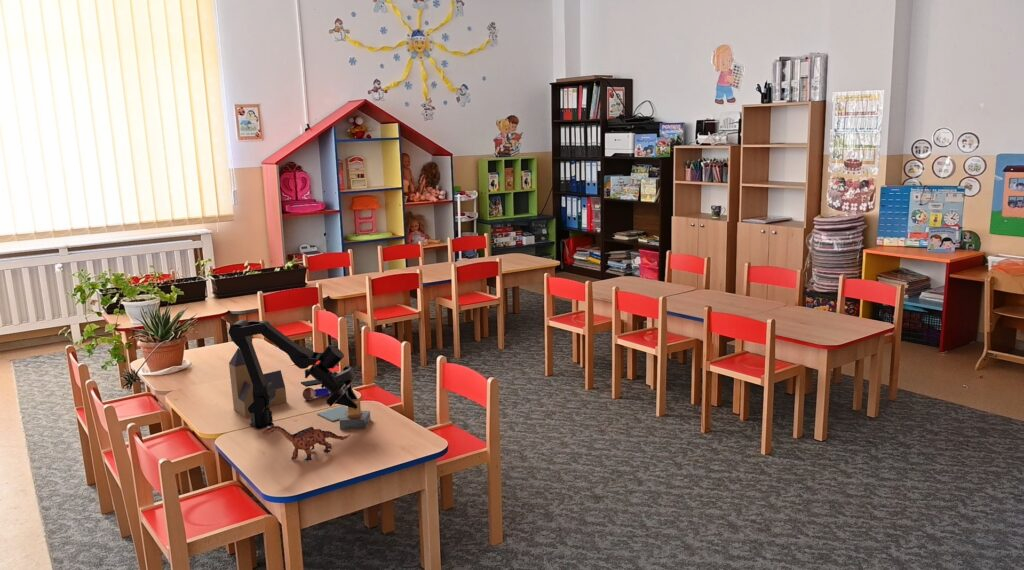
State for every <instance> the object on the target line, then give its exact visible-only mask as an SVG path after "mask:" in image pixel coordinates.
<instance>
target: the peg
mask: <svg viewBox="0 0 1024 570" xmlns="http://www.w3.org/2000/svg"><path fill="white" fill-rule="evenodd" d="M352 400H353V402H354V403H355V404H356V405H357V406H358V407H357V408H356V409H354V408H351V407H347V408H348V414H349V418H360V416H361V411H362V410H361V409H362V407H361V398H358V399H352Z"/></svg>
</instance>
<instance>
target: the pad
mask: <svg viewBox="0 0 1024 570" xmlns="http://www.w3.org/2000/svg"><path fill="white" fill-rule="evenodd" d="M345 411H348V407H347V406H344V405H340V406H336V407H333V408H331V409H327V410H324V411H321V412H317V413H316V415H317V416H320V417H321V418H323V419H326V420H327V421H330V422H332V423H334V422H337V421H339V420H340V418H341V417H342V416H343V414H344V413H345Z"/></svg>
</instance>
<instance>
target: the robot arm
mask: <svg viewBox="0 0 1024 570" xmlns="http://www.w3.org/2000/svg"><path fill="white" fill-rule="evenodd" d="M228 335H229V337H230V339H231V340H232V342H233V343H234V344H235V345H236V346H237V347H238V348H239V349H240V351H241V354H242V357H243V359H244V362H245V365H246V368H247V371H248V373H249V376H250V379H251V382H252V385H253V388H252V395H253V401H254V402H253V403H252V404H251V405H250V406H249V407H248V411H249V413H251V417H250V420H251V422H250V423H249V425H250V426H251V427H252V428H254V429H255V430H260V429H264V428H267V427H271V426H275V425H274V422H273V411H272V410H271V406H269V405H271V402H272V401H273V400H274V398H275V392H276V390H275V389H274V386H273V382H271V383H268V382H267V381H266V380H265V378H264V375H263V374H264V373H263V370H262V367H261V364H260V360H259V359H258V356H257V353H256V350H255V347H254V344H253V336H256V335H262V336H263V337H264V338H266V339H267V340H268V341H269V342H271V343H272V344H274V345H275V346H276V347H277V348H279V349H280V350H281V351H283V352H284V353H286V354H287V356H288V357H289V358H290V360H291V362H292V363H293V364H294V365H295V366H296V367H297V368H299V369H300V370H303V369H305V370H304V378H305V379H308V377H310V376H312V377H313V378H314V380H317V381H318V382H319V383H320V387H321V388H326V389H327V390H328V391H330V392H331V393H330V395H328V397H327V398H326V399H325V400H326V404H327V405H328V406H329V407H332V406H333V405H340V406H345V407H347V408H348V407H351V408H354V409H356V408H357V407H358V406H357V405H356V404H355V403H354V402H353V400H352V399H359V398H358V396H357V395H356V393H355V392H354V390H353V385H354V384H353V381H354V380H355V378H354V377H355V376H356V374H355V372H354V371H355V369H354V368H353V367H352V366H350V365H348V364H347V365H345V366H344V367H343V368H342V369H343V370H342V371H340V372H337V371H336V370H335V371H331V370H330V369H333V370H334V368H335V367H336V366H338V364H339V363H340V362H341V361H342V360H343V359H344V358H345V354H344V353H343V351H342V350H341V349H340V348H338V347H336V346H332V345H331V344H329V345H328V346H327V347H326V348H325V350H324V351H323V352H319V351H317V352H316V351H314V350H311V349H310V348H308V347H306V346H304V345H300V344H298V343H296V342H294V341H293V340H291V338H289V337H288V336H287V335H285V334H284V333H282V332H281V331H280V330H279V329H277V328H276V327H274V326H273V325H272V324H271V323H270V322H269V321H267V320H261V321H260V320H249V321H247V319H246V320H245V319H240V320H238V321H236V322H234V323H233V324H232V325H230V326H229V328H228ZM309 367H310V368H309ZM268 406H269V407H268Z"/></svg>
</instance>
